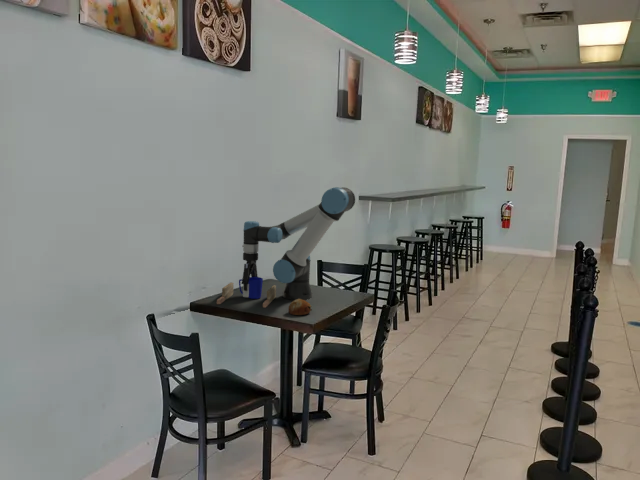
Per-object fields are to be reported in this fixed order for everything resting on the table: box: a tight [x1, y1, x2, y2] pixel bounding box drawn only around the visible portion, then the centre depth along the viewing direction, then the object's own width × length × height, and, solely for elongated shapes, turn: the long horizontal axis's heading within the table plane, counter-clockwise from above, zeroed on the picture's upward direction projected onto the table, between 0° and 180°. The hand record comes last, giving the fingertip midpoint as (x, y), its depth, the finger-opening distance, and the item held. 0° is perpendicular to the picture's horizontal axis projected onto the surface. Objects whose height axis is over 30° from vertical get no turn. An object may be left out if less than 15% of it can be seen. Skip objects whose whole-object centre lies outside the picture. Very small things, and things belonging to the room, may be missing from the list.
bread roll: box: [288, 299, 313, 316], centre depth 235 cm, size 10×10×8 cm
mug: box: [238, 276, 264, 300], centre depth 262 cm, size 8×12×10 cm
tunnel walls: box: [221, 282, 277, 304], centre depth 260 cm, size 24×14×6 cm, turn 83°
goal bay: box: [216, 296, 270, 308], centre depth 249 cm, size 24×7×2 cm, turn 83°
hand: (249, 293), depth 261 cm, fingers open, 13 cm apart
